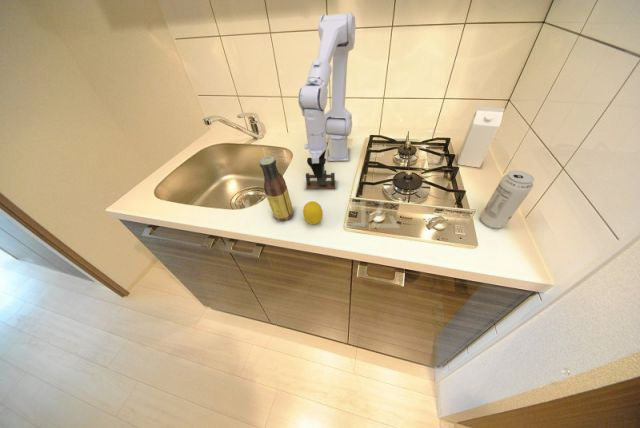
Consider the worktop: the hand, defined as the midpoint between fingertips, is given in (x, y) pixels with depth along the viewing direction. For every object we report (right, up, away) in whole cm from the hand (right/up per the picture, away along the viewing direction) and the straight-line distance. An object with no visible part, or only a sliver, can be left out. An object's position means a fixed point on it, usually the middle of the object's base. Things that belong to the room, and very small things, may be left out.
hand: (319, 170), depth 76 cm
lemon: (-2, -17, -8) cm, 19 cm away
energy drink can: (+47, -17, -13) cm, 52 cm away
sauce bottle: (-11, -15, -5) cm, 19 cm away
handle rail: (0, -4, +4) cm, 6 cm away
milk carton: (+55, +5, +8) cm, 56 cm away
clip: (+1, -3, +3) cm, 5 cm away
